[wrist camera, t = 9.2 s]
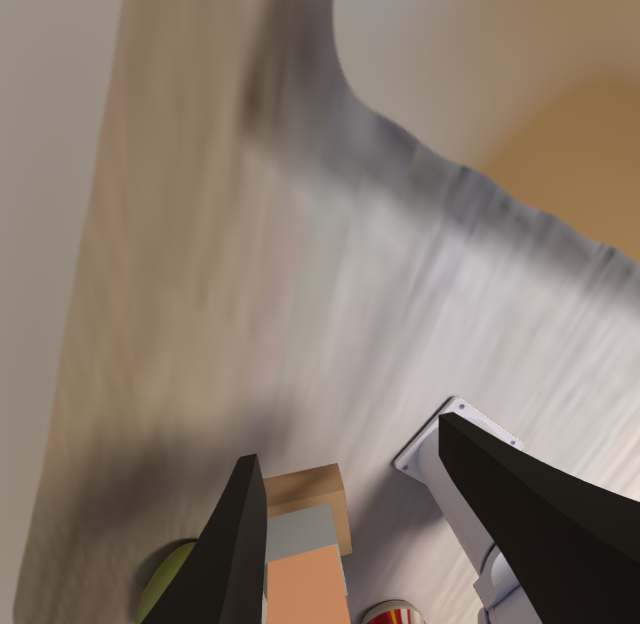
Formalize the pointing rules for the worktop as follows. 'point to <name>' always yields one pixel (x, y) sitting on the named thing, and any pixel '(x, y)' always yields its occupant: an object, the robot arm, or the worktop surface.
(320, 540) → the slate block
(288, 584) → the terracotta cube
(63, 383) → the worktop surface
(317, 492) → the walnut base
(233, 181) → the worktop surface
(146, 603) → the pear
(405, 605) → the soda can
